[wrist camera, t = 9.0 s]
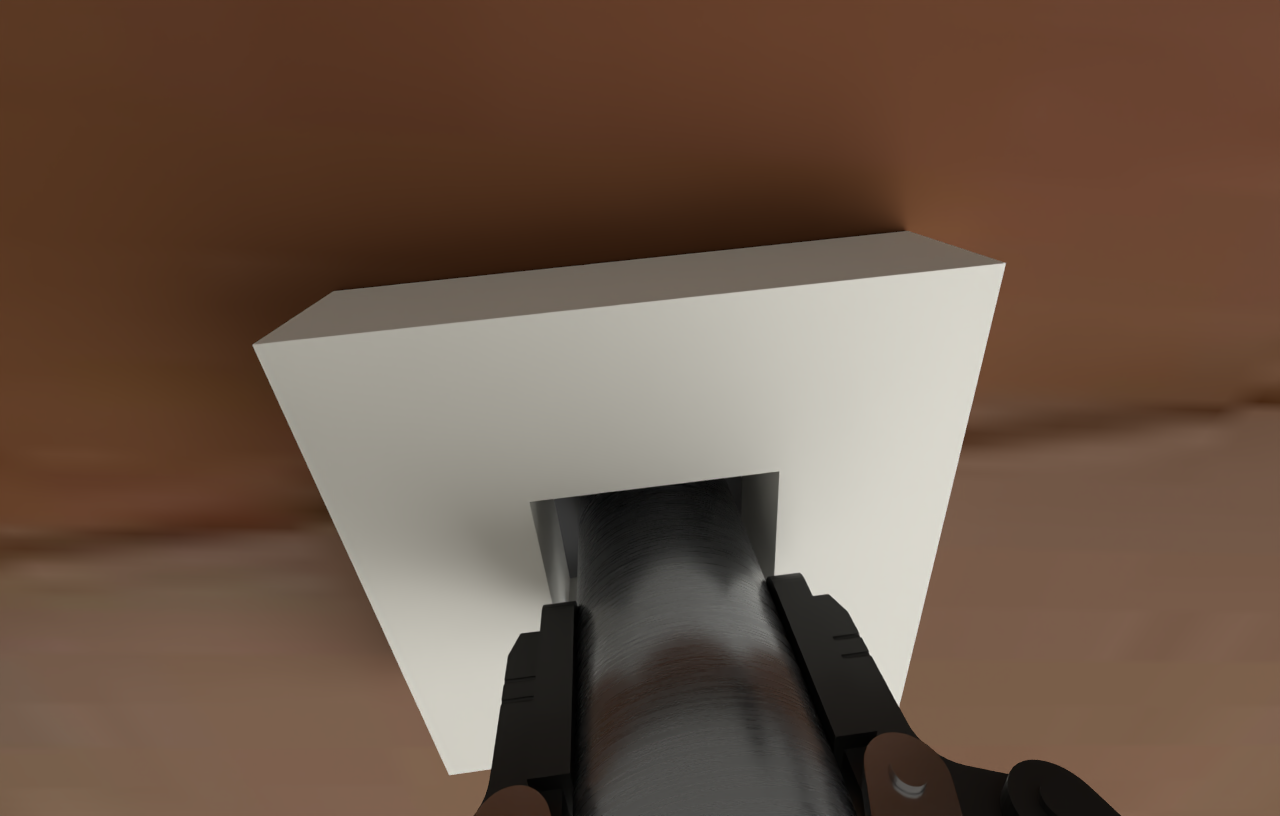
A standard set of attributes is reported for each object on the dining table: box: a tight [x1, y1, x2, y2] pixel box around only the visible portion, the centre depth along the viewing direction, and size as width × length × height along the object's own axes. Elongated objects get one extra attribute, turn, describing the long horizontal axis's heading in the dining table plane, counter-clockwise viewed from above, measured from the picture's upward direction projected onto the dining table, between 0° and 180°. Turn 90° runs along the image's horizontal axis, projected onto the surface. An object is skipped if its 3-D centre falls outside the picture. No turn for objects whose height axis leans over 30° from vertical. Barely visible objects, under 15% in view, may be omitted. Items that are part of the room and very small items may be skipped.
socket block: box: [252, 231, 1006, 775], centre depth 15 cm, size 14×14×4 cm
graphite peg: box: [572, 478, 858, 816], centre depth 10 cm, size 4×4×12 cm
